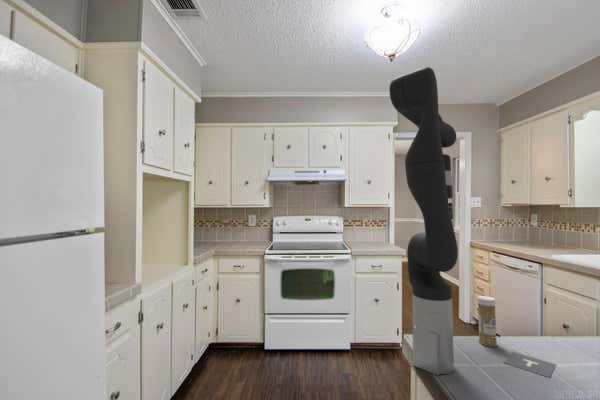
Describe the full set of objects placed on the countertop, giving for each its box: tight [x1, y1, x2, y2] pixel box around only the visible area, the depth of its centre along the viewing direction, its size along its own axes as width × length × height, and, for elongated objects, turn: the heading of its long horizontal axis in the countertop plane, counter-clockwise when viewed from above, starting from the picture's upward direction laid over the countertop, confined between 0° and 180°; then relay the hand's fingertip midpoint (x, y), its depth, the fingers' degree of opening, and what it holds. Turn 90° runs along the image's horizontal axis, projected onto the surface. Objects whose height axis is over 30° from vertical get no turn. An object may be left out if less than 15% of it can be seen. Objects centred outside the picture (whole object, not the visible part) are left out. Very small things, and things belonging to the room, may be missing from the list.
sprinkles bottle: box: [476, 295, 498, 347], centre depth 84 cm, size 5×5×13 cm
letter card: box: [503, 351, 557, 379], centre depth 73 cm, size 9×9×1 cm
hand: (441, 232), depth 97 cm, fingers open, 8 cm apart
